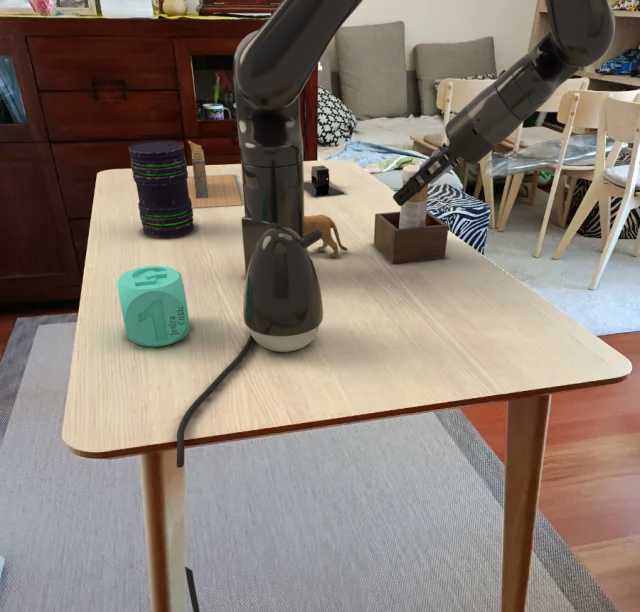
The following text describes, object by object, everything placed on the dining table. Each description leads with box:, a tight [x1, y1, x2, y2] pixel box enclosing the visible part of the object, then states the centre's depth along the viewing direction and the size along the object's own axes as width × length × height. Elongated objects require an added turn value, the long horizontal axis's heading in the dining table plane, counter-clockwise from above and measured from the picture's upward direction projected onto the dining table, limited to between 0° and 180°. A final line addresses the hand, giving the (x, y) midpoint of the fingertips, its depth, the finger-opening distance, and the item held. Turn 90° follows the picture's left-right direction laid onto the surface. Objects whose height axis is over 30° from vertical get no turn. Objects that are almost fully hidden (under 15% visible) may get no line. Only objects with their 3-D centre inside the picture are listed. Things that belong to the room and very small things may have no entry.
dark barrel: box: [128, 140, 195, 240], centre depth 112 cm, size 10×10×15 cm
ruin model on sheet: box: [187, 140, 243, 209], centre depth 136 cm, size 25×16×10 cm, turn 11°
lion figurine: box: [304, 214, 349, 259], centre depth 104 cm, size 15×5×9 cm, turn 92°
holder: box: [373, 210, 450, 265], centre depth 106 cm, size 10×10×6 cm
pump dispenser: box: [242, 226, 324, 353], centre depth 76 cm, size 10×10×15 cm
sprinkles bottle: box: [399, 164, 429, 229], centre depth 103 cm, size 5×5×13 cm
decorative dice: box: [116, 265, 191, 348], centre depth 80 cm, size 8×8×8 cm
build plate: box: [304, 165, 345, 198], centre depth 139 cm, size 12×7×5 cm, turn 20°
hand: (402, 196), depth 102 cm, fingers open, 5 cm apart
